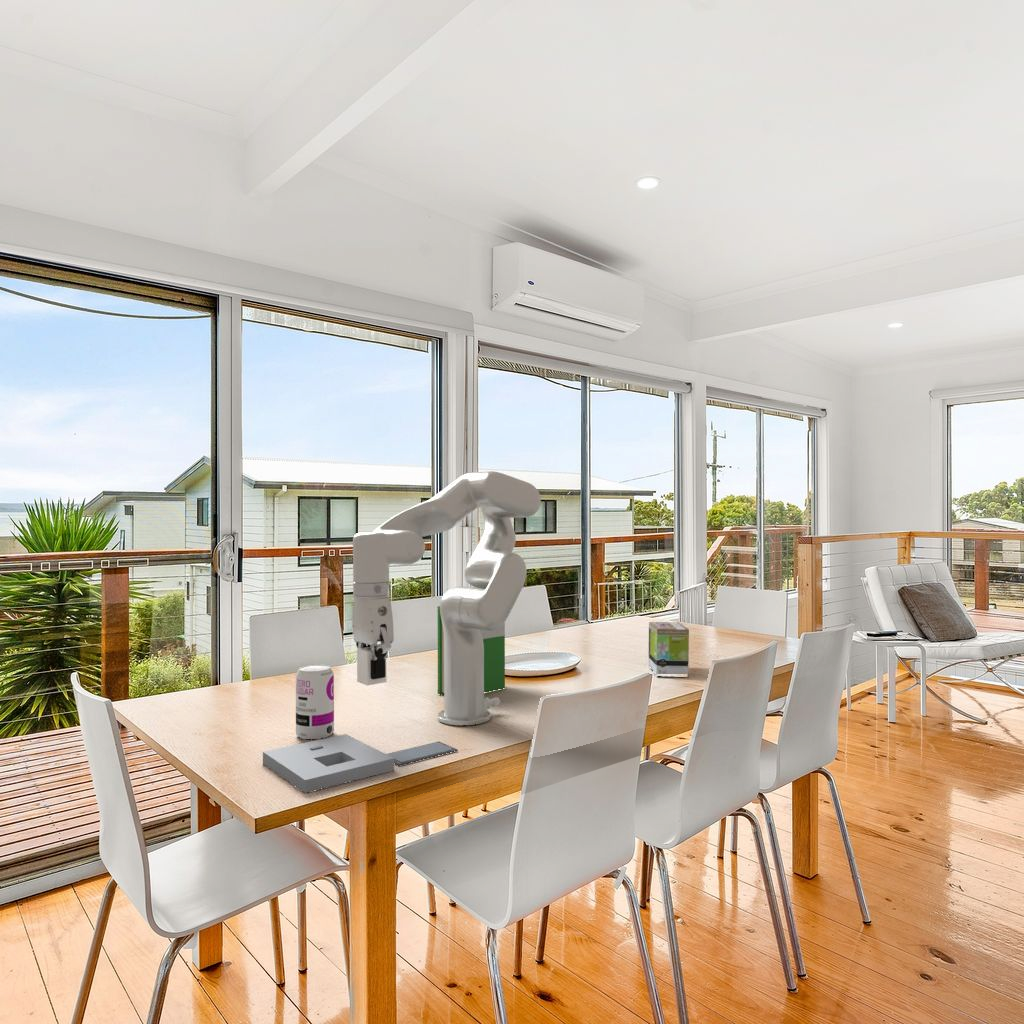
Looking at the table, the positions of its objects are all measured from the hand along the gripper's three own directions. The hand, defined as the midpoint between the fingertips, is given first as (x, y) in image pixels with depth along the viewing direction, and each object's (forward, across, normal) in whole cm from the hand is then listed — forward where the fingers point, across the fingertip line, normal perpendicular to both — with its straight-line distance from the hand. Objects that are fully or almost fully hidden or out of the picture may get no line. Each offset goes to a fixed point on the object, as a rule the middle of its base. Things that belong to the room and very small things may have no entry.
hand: (372, 675), depth 157 cm
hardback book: (+16, +24, -44) cm, 52 cm away
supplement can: (+15, +15, +6) cm, 22 cm away
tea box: (+16, +5, -105) cm, 106 cm away
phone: (+16, -11, -5) cm, 20 cm away
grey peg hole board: (+15, -6, +13) cm, 21 cm away
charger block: (+1, 0, 0) cm, 1 cm away
